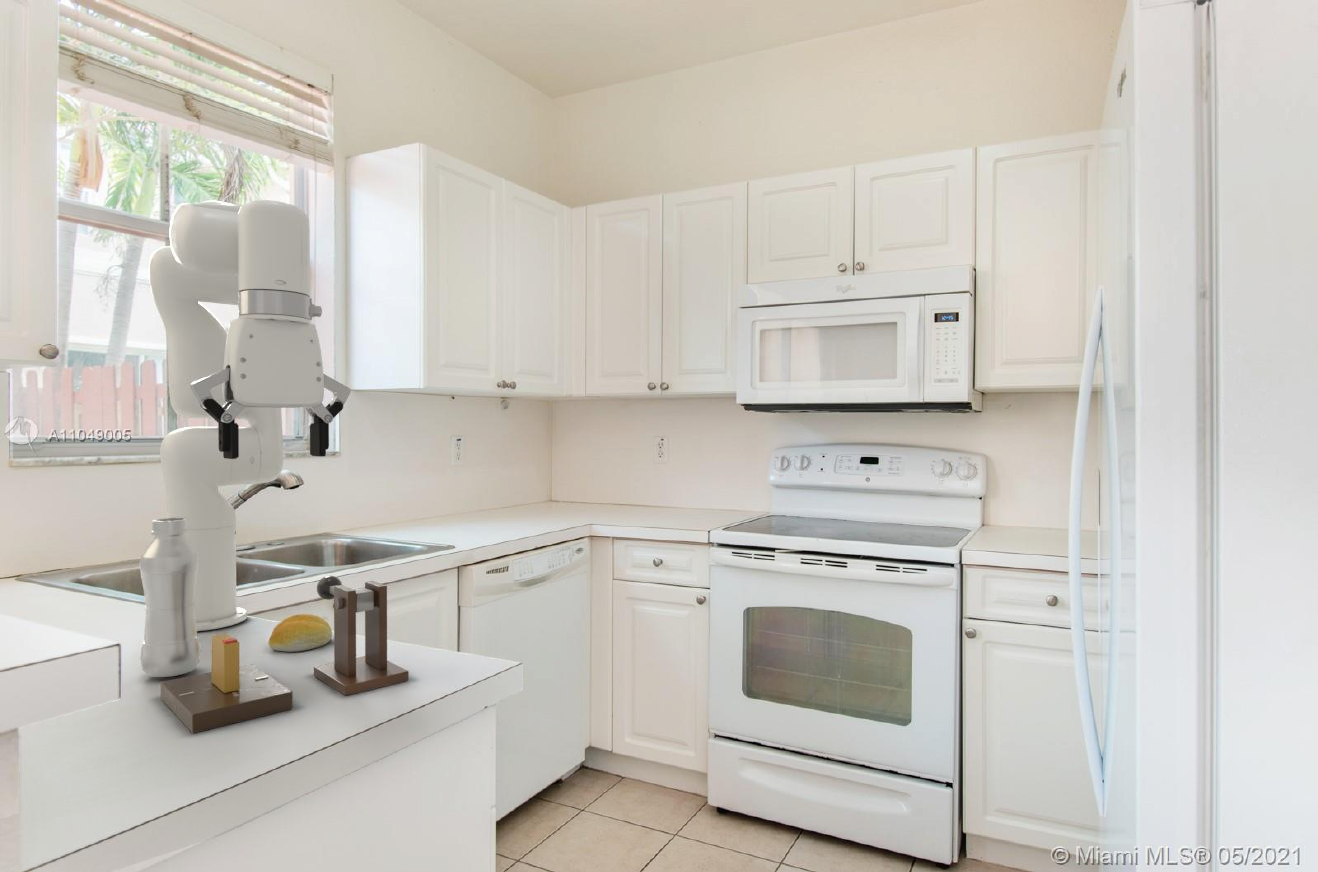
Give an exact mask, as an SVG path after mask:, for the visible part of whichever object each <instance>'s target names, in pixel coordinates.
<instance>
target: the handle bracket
mask: <svg viewBox="0 0 1318 872" xmlns="http://www.w3.org/2000/svg"><path fill="white" fill-rule="evenodd" d="M364 588H366V589H369V590H372V591H373V592H374V609H373V610H369V611H364V656H363V655H362V656H358V657H357V612H356V590H353V588H351V587H348V586H345V585H343V584H342V585H338V586H334V599H333V632H334V633H333V649H334V650H333V658H334V659H333V662H330V663H325V664H321V665H316V666H313V676H314V677H315V678H317V679H318V680H320V681H322V682H323V683H325V684H326V685H328V686H329V687H331V688H332V689H334V690H336V691H337V692H339V693H341V694H342V695H344V696H351V695H354V694H359V693H362V692H367V691H370V690H376V689H380V688H384V687H386V686H387V687H388V686H391V685H395V684H399V683H403V682H407V681H409V680H410V679H409V670H407V669H406V668H404V667H401V666H399V665H397V664H395V663H393V662H392V661H389V660H388V585H386V584H383V583H380V582H377V581H374V580H365V582H364Z"/></svg>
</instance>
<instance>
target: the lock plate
mask: <svg viewBox="0 0 1318 872" xmlns="http://www.w3.org/2000/svg"><path fill="white" fill-rule="evenodd" d="M239 675H240V690H237V691H232V692H227V693H224V692H222V691H221V690H220V689H219V688H218V687H217V686H215V685H214V684H213V683H212V671H210V672H205V673H200V674H194V675H190V676H185V677H180V678H175V679H170V680H165V681H161V682H160V699H161V701H162V702H163V703H164V704H165V705H166V706H167V707H168V708H169V709H170V710H171V711H172V713H173V714H174V715H175V716H176V717H177V718H178V719H179V720H180V721H181V722H182V723H183V724H184V726H185V727H187V729H189V731H190V732H191V734H195V733H200V732H203V731H207V730H212V729H216V728H220V727H224V726H228V725H233V724H236V723H240V722H245V721H248V720H252V719H257V718H261V717H265V716H269V715H274V714H278V713H281V712H284V711H285V712H286V711H290V710H292V709H293V691H292V690H291V689H289V688H288V687H286V686H285V685H284V684H282V683H280V682H279V681H278V680H276V679H275V678H274V677H273V676H271V675H269V674H268V673H267V672H265V671H263V670H262V669H261V668H259V667H258V666H257V665H255V664H254V663H250V664H249V663H248V664H244V665H239Z"/></svg>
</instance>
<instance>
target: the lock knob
mask: <svg viewBox="0 0 1318 872" xmlns="http://www.w3.org/2000/svg"><path fill="white" fill-rule="evenodd" d="M210 639H211V643H210V644H211V650H210V651H211V654H210V655H211V672H212V683H213V684H214V685H215V686H217V687H218V688H219V689H220V690H221V691H222V692H224V693H227V692H232V691H237V690H240V675H239V666H240V641H238V639H237V638H235V637H232V636H231V635H230V634H228V633H226V632H225V633H220V634H214V635H211V637H210Z"/></svg>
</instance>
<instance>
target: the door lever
mask: <svg viewBox="0 0 1318 872" xmlns="http://www.w3.org/2000/svg"><path fill="white" fill-rule="evenodd" d="M342 583H343V582H342V581H341V579H339V577H337V576H335V575H327V576H324V577H322V578H321V579H320V580H319V581H318V583H317V585H316V593H317V594H318V597H320V598H322V599H323V600H326V601H327V600H328V601H331V600H334V586H338V585H343V584H342ZM352 589H353V588H352ZM353 590H356V613H362V612H365V611H369V610H373V609H374V592H373V591H372V590H369V589H366V588H365V587H359V588H354V589H353Z"/></svg>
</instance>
